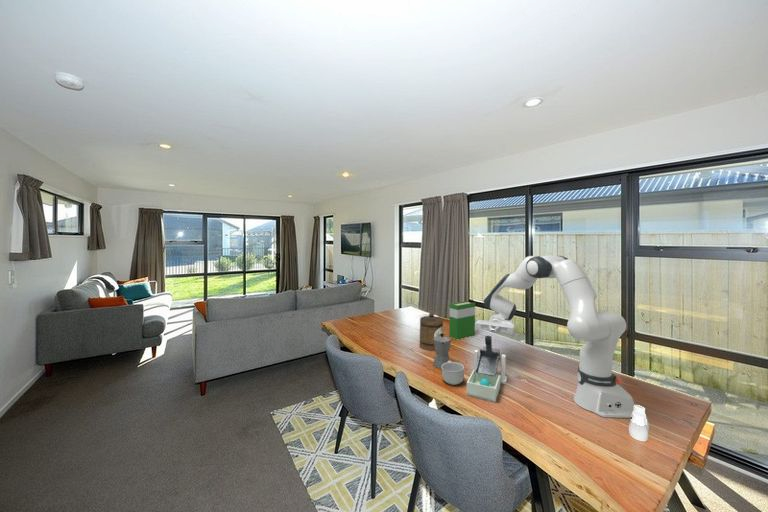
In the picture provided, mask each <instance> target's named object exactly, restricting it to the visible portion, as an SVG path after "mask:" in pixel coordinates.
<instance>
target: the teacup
mask: <svg viewBox="0 0 768 512" xmlns="http://www.w3.org/2000/svg"><path fill="white" fill-rule="evenodd" d="M441 368H442V369H441V375H442V376H441V377H442V379H443V381H444V382H445V383H447V384H448V385H451V386H455V385H456V386H457V385H460V384H461V383H462V382H463V381H464V377H465V366H464V364H462V363H460V362H456V361H455V362H454V361H452V360H450V361H448V362H446V363H444V364H442V366H441Z"/></svg>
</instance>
